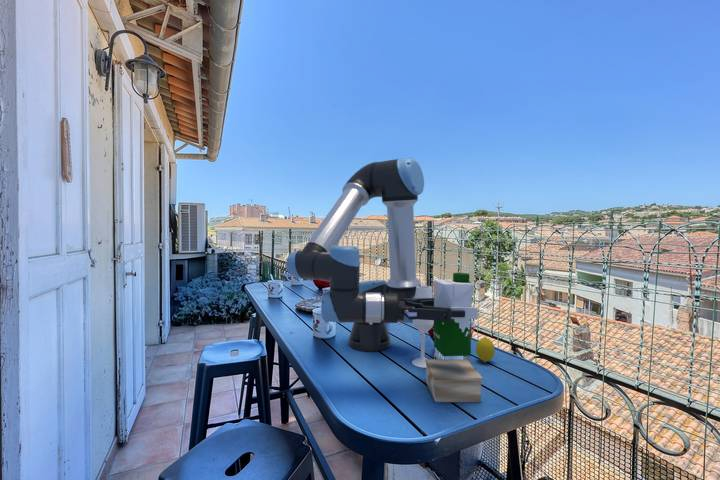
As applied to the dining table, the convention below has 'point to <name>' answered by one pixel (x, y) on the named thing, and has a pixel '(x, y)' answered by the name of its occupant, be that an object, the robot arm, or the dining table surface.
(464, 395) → the oak riser
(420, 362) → the champagne flute
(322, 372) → the dining table surface
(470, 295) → the fresh milk carton
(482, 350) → the lemon
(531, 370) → the dining table surface
